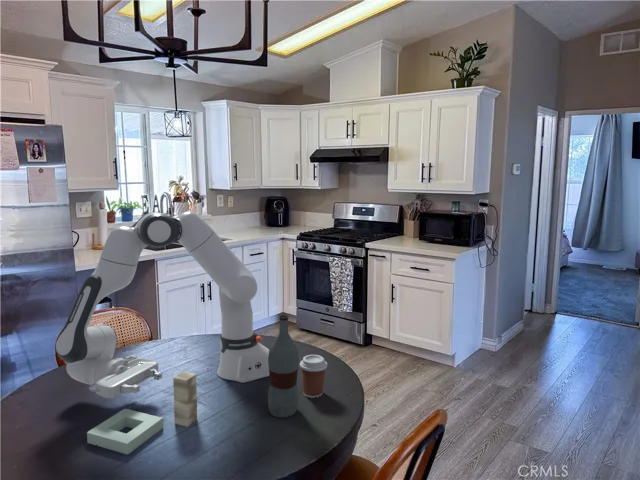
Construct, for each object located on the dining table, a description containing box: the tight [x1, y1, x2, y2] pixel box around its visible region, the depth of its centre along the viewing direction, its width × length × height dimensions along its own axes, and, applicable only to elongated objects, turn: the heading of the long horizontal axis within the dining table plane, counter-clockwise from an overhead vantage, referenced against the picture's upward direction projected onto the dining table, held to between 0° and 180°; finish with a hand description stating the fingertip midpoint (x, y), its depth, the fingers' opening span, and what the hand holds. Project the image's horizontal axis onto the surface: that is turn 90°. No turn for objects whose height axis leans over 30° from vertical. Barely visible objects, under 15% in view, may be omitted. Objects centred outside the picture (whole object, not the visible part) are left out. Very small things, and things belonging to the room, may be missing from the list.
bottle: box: [267, 314, 300, 419], centre depth 138 cm, size 9×9×30 cm
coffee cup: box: [299, 354, 328, 399], centre depth 151 cm, size 9×9×12 cm
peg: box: [172, 371, 198, 428], centre depth 132 cm, size 4×4×14 cm
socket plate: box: [86, 408, 164, 456], centre depth 126 cm, size 14×14×3 cm
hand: (149, 382), depth 136 cm, fingers open, 8 cm apart
